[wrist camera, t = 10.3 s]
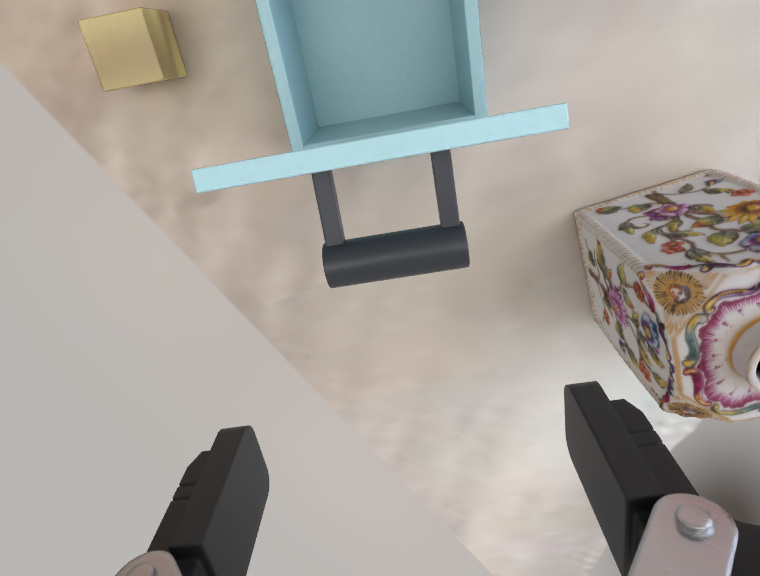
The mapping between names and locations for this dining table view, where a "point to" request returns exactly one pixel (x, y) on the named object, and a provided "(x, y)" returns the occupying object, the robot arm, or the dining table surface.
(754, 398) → the decorative jar
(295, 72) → the box
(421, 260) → the freezer lid
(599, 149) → the dining table surface
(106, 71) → the block
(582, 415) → the robot arm
